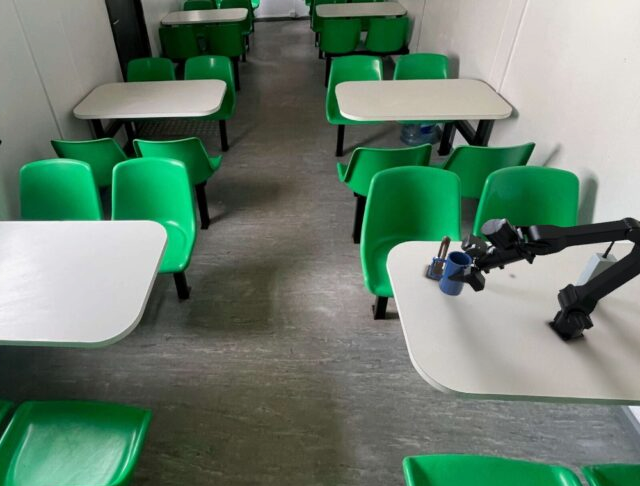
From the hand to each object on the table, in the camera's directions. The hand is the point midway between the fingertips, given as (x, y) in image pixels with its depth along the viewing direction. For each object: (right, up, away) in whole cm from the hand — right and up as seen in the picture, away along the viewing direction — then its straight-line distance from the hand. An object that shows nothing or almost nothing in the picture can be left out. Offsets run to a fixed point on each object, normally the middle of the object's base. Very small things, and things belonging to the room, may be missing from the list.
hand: (450, 271), depth 126 cm
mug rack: (+1, -6, +14) cm, 15 cm away
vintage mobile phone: (+45, -9, +7) cm, 47 cm away
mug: (0, -5, +4) cm, 7 cm away
